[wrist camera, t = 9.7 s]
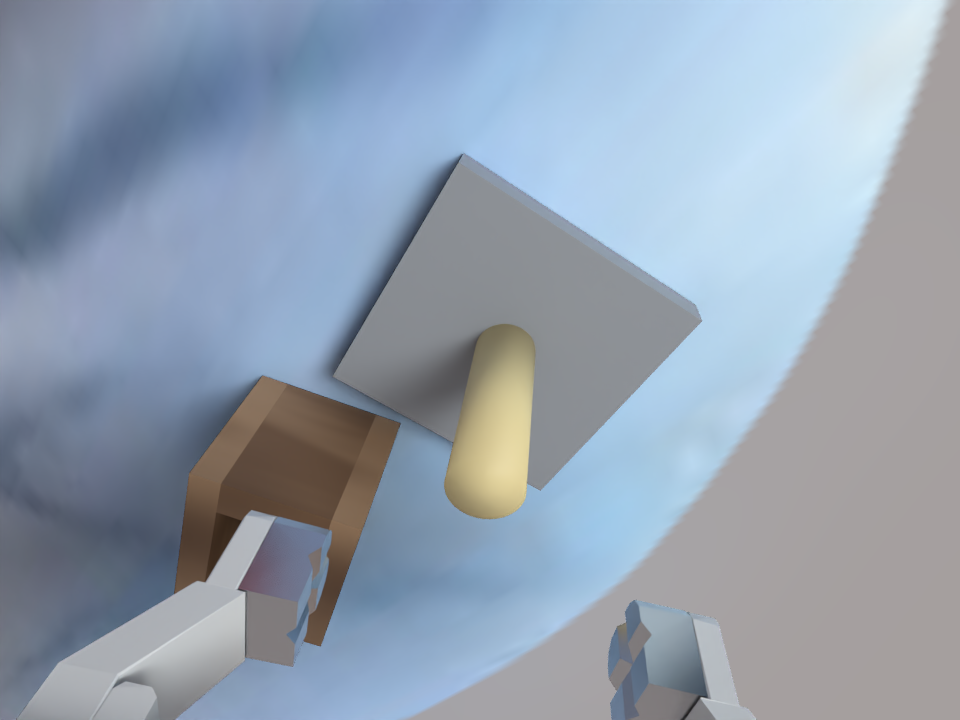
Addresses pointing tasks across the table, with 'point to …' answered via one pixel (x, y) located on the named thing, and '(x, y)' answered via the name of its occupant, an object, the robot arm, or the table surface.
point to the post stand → (510, 338)
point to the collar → (286, 480)
